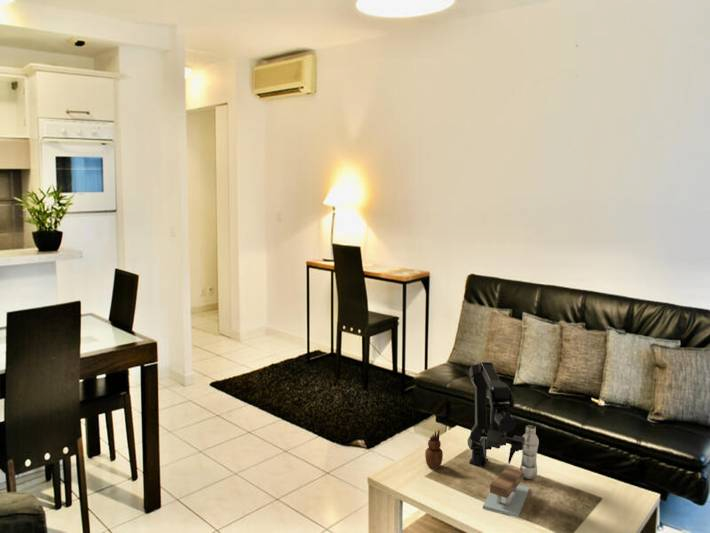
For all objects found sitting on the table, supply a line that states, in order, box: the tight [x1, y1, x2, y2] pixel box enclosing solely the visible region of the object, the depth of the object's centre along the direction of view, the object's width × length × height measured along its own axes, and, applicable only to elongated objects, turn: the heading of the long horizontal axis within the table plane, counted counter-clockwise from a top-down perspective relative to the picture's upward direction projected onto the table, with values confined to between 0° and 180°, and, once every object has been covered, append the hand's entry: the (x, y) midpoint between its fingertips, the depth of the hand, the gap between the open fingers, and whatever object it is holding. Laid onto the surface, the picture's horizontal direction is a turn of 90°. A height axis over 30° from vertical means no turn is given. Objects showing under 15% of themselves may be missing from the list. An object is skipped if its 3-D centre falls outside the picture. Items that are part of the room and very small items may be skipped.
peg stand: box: [482, 484, 530, 518], centre depth 202 cm, size 20×12×5 cm, turn 153°
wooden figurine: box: [425, 429, 444, 469], centre depth 225 cm, size 7×6×15 cm
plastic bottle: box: [519, 424, 540, 480], centre depth 217 cm, size 6×7×20 cm
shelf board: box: [489, 466, 524, 498], centre depth 202 cm, size 16×6×3 cm, turn 144°
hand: (496, 460), depth 207 cm, fingers open, 9 cm apart
